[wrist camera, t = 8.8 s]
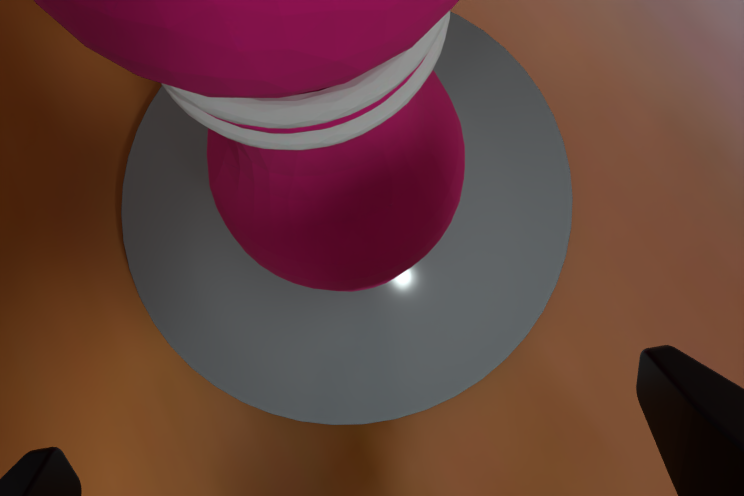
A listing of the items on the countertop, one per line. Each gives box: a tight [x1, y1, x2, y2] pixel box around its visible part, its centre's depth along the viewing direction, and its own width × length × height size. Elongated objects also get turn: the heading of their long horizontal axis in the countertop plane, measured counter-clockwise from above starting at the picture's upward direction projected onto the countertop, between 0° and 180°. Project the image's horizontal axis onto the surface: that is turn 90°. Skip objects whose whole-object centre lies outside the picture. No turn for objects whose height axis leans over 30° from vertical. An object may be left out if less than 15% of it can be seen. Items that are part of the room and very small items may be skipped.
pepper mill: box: [34, 0, 465, 292], centre depth 13 cm, size 7×7×20 cm
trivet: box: [121, 12, 572, 425], centre depth 23 cm, size 16×16×1 cm
